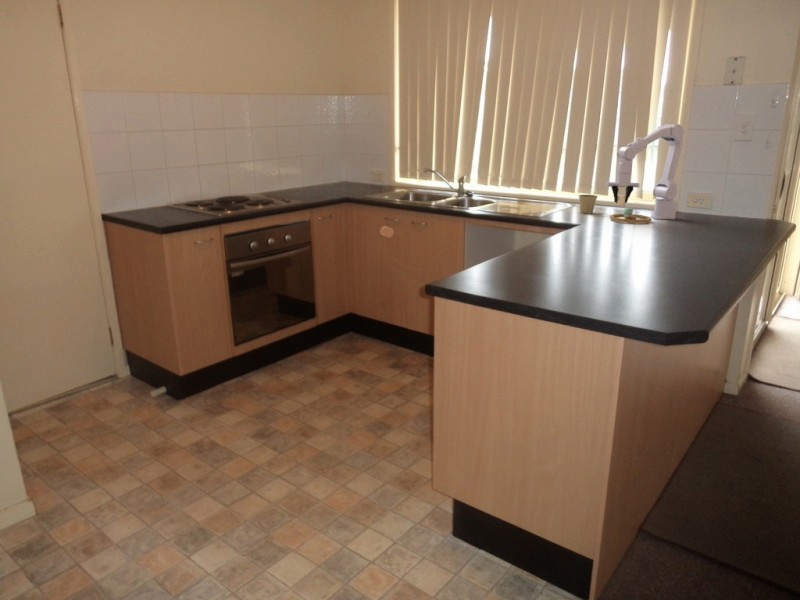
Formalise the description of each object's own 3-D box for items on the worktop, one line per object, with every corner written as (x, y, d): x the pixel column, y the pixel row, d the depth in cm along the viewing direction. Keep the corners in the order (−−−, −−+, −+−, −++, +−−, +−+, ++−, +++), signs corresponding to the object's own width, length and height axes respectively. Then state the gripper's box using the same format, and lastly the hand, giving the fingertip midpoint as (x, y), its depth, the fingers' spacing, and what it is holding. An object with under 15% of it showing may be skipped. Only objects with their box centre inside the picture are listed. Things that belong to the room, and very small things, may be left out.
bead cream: (623, 205, 286) (624, 195, 284) (625, 206, 282) (626, 196, 280) (614, 204, 286) (616, 195, 285) (616, 206, 282) (617, 196, 281)
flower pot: (573, 211, 310) (574, 194, 307) (588, 210, 313) (590, 194, 310) (583, 214, 301) (585, 197, 299) (599, 213, 304) (601, 196, 302)
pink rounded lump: (383, 236, 240) (378, 234, 243) (392, 238, 242) (387, 236, 245) (386, 226, 239) (381, 224, 243) (394, 229, 241) (390, 227, 245)
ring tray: (645, 218, 292) (645, 213, 292) (654, 224, 275) (655, 219, 275) (606, 216, 295) (607, 212, 294) (614, 223, 278) (614, 218, 277)
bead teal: (630, 217, 291) (632, 207, 290) (632, 218, 288) (634, 209, 286) (622, 216, 292) (623, 207, 291) (624, 218, 288) (625, 208, 287)
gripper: (638, 172, 282) (634, 201, 286) (606, 172, 284) (603, 200, 288) (641, 174, 276) (638, 203, 280) (609, 173, 277) (605, 202, 281)
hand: (620, 202), depth 283 cm, fingers closed on bead cream, 4 cm apart
